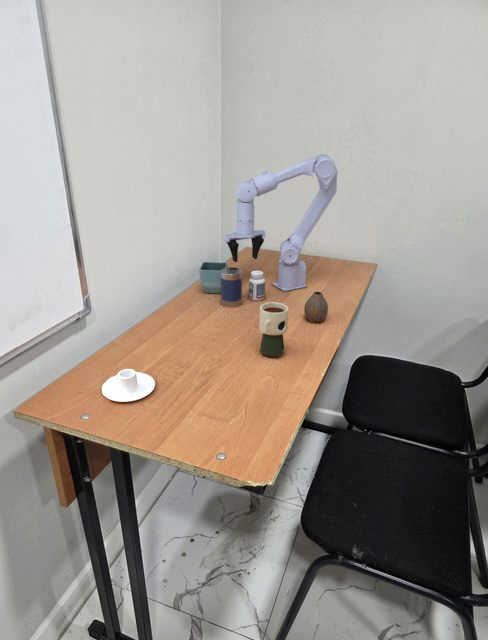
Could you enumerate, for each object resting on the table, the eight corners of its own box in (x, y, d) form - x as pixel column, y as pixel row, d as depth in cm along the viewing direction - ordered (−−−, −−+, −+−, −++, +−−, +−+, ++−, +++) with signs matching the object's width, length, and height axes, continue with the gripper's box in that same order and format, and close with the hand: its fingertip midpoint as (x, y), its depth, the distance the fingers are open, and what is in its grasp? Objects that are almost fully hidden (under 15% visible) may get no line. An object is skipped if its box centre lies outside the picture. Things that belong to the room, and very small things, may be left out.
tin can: (235, 297, 149) (235, 266, 144) (245, 304, 144) (245, 272, 139) (217, 301, 147) (217, 269, 141) (226, 308, 141) (226, 275, 136)
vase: (329, 317, 136) (332, 290, 131) (323, 326, 130) (326, 299, 126) (307, 313, 138) (309, 287, 134) (300, 322, 133) (302, 295, 128)
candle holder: (107, 375, 107) (104, 360, 105) (157, 373, 108) (155, 358, 106) (97, 405, 97) (94, 389, 95) (153, 403, 98) (151, 386, 96)
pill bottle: (266, 295, 151) (267, 270, 146) (262, 301, 146) (263, 275, 142) (251, 294, 152) (251, 269, 148) (246, 299, 148) (247, 274, 143)
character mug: (277, 365, 111) (279, 318, 105) (251, 359, 114) (252, 313, 108) (291, 346, 120) (295, 302, 113) (267, 341, 122) (269, 297, 116)
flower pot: (228, 286, 158) (228, 262, 154) (225, 296, 150) (225, 270, 146) (203, 285, 159) (202, 261, 154) (199, 295, 151) (198, 270, 147)
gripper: (231, 225, 142) (231, 266, 149) (270, 220, 147) (268, 260, 154) (221, 220, 148) (222, 260, 154) (260, 215, 153) (259, 254, 160)
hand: (244, 259), depth 155 cm, fingers open, 7 cm apart
